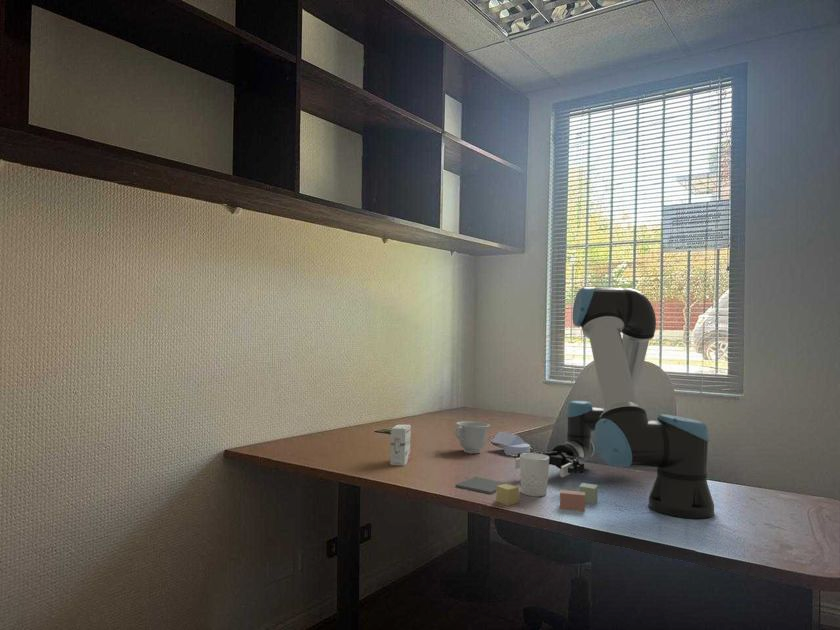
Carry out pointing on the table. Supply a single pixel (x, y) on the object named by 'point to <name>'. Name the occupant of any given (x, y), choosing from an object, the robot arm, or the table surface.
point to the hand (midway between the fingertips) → (538, 467)
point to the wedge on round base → (511, 443)
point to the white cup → (534, 474)
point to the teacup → (471, 435)
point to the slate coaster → (480, 485)
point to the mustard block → (507, 494)
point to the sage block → (589, 492)
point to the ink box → (400, 444)
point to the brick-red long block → (572, 500)
